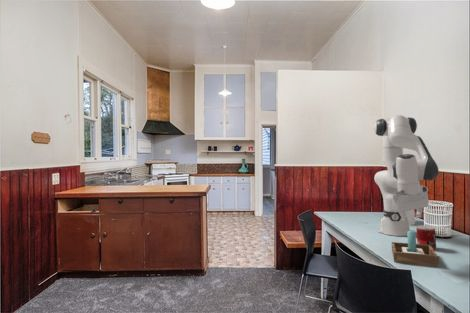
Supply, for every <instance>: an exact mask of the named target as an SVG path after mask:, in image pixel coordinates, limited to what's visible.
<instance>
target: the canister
mask: <svg viewBox="0 0 470 313" xmlns="http://www.w3.org/2000/svg"><path fill="white" fill-rule="evenodd" d="M405 212H406V217H407V219H408V220H409V226H414V225H415V224H416V215H415V214H416V213H415V209H414V210H409V211H405Z"/></svg>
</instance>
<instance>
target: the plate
mask: <svg viewBox="0 0 470 313" xmlns="http://www.w3.org/2000/svg"><path fill="white" fill-rule="evenodd" d="M416 250H417V252H408V247H402V252H406V253H416V254H424V252H423V250H422V249H419V248H416Z"/></svg>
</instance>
